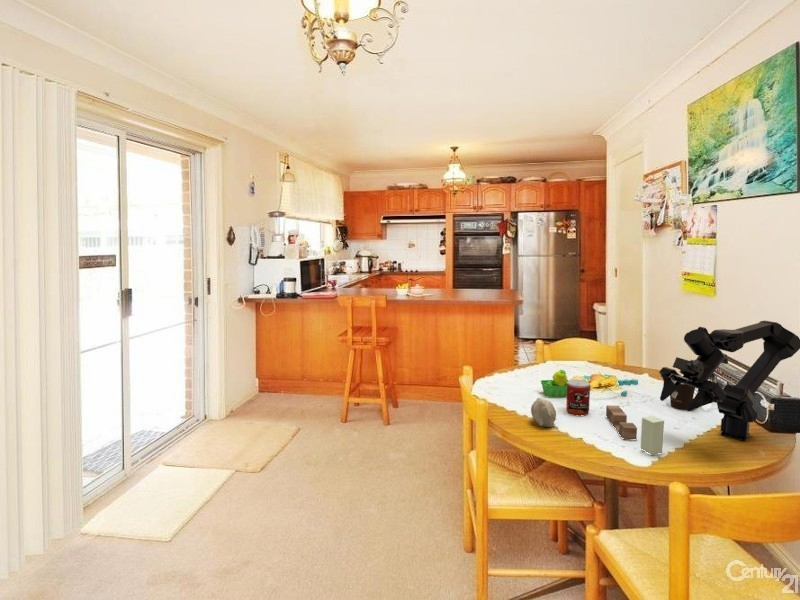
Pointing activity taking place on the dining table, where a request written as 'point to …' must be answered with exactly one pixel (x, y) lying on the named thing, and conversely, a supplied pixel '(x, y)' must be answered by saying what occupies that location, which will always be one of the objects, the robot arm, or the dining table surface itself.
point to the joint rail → (621, 422)
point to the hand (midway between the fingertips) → (673, 405)
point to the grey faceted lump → (543, 412)
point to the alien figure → (621, 383)
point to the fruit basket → (556, 385)
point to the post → (652, 434)
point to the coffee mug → (682, 396)
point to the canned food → (578, 397)
